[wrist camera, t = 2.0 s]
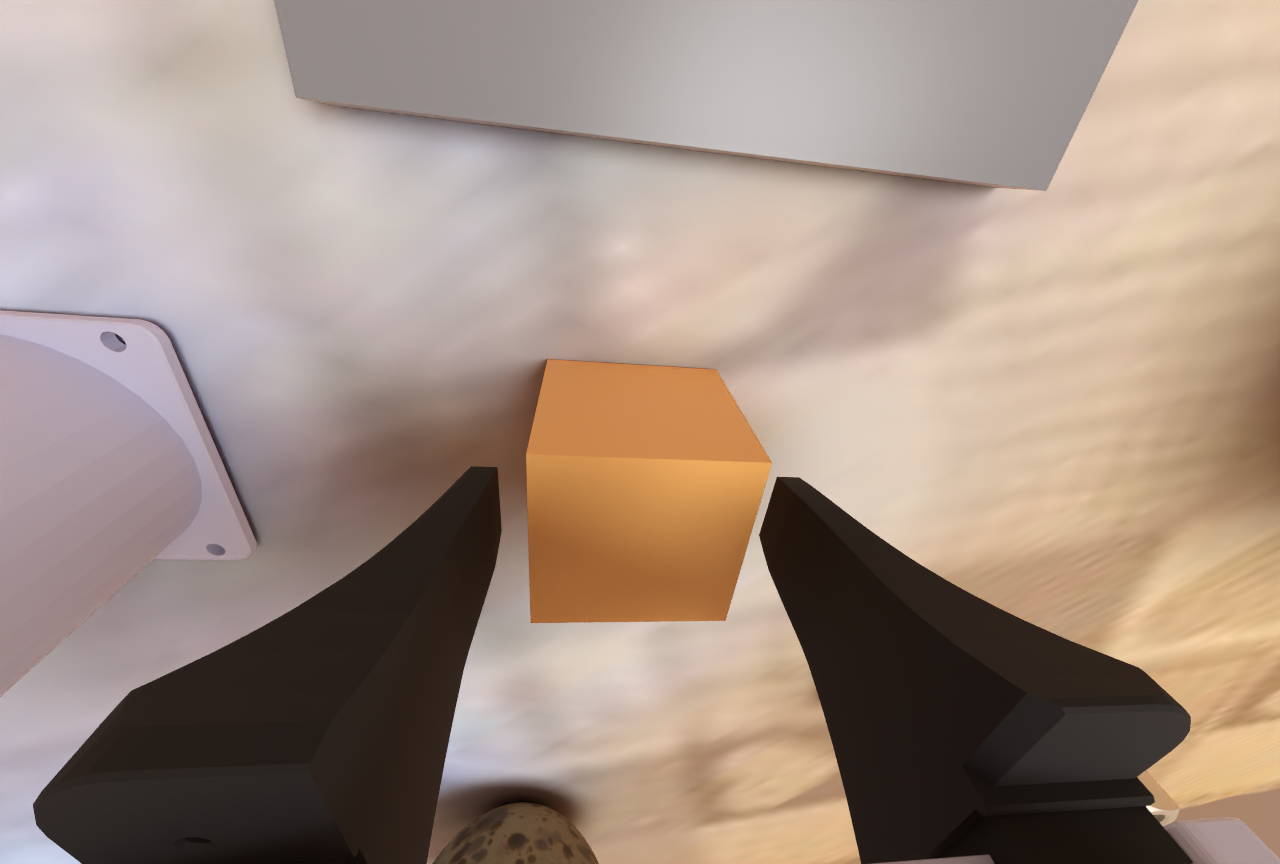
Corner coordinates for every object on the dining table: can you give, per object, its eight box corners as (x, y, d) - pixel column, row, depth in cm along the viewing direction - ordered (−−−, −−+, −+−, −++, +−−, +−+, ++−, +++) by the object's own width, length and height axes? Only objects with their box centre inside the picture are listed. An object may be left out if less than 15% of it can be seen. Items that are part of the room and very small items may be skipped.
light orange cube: (547, 496, 16) (530, 622, 11) (547, 359, 13) (526, 454, 9) (690, 499, 16) (725, 620, 12) (716, 369, 14) (771, 462, 10)
